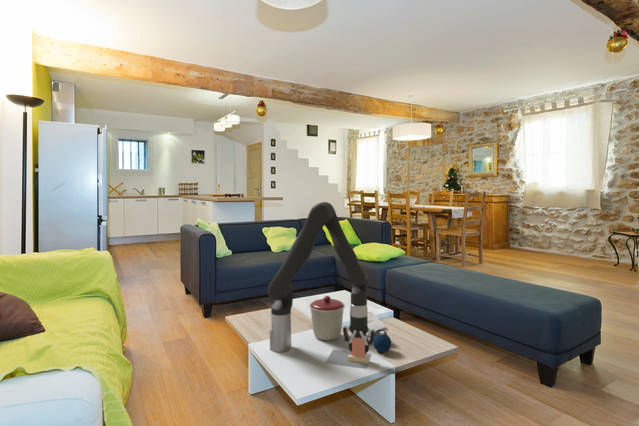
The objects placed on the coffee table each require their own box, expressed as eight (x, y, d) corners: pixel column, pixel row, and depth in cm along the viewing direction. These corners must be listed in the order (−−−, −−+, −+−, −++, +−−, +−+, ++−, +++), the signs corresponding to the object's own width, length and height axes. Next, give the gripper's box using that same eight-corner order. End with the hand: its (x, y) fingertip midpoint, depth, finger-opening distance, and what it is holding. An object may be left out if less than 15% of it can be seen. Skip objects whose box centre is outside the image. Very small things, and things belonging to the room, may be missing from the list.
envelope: (361, 332, 193) (386, 330, 196) (361, 328, 193) (386, 326, 196) (349, 316, 217) (372, 314, 219) (349, 312, 217) (372, 311, 219)
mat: (324, 363, 158) (324, 358, 158) (333, 350, 171) (333, 345, 171) (366, 369, 152) (366, 364, 152) (371, 355, 166) (371, 349, 166)
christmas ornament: (394, 354, 167) (395, 332, 166) (378, 357, 164) (378, 335, 163) (385, 346, 175) (385, 326, 174) (369, 349, 172) (369, 328, 171)
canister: (326, 327, 199) (326, 289, 198) (352, 336, 186) (352, 296, 185) (302, 336, 187) (301, 296, 185) (327, 347, 174) (327, 304, 172)
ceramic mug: (379, 337, 186) (379, 322, 185) (387, 343, 178) (387, 328, 177) (360, 340, 183) (360, 325, 182) (367, 347, 175) (367, 331, 174)
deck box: (351, 354, 160) (351, 337, 159) (352, 353, 162) (352, 335, 161) (365, 356, 158) (365, 338, 158) (366, 354, 160) (366, 336, 160)
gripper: (376, 312, 160) (376, 350, 161) (344, 309, 165) (344, 346, 166) (374, 318, 153) (373, 357, 154) (340, 315, 157) (340, 353, 158)
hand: (358, 351), depth 160 cm, fingers closed on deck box, 5 cm apart
